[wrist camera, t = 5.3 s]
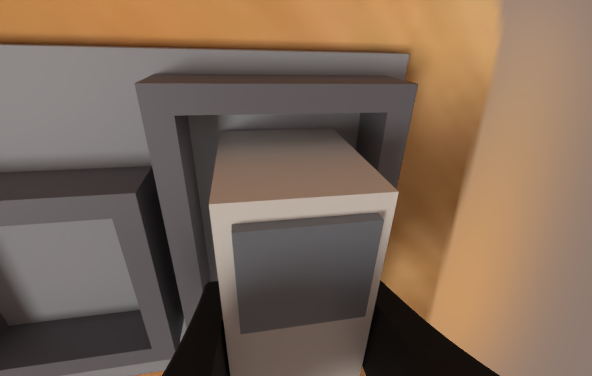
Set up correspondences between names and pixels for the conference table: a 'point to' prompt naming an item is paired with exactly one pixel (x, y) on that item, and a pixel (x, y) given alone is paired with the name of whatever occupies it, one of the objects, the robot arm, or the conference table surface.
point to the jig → (148, 183)
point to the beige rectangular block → (297, 250)
